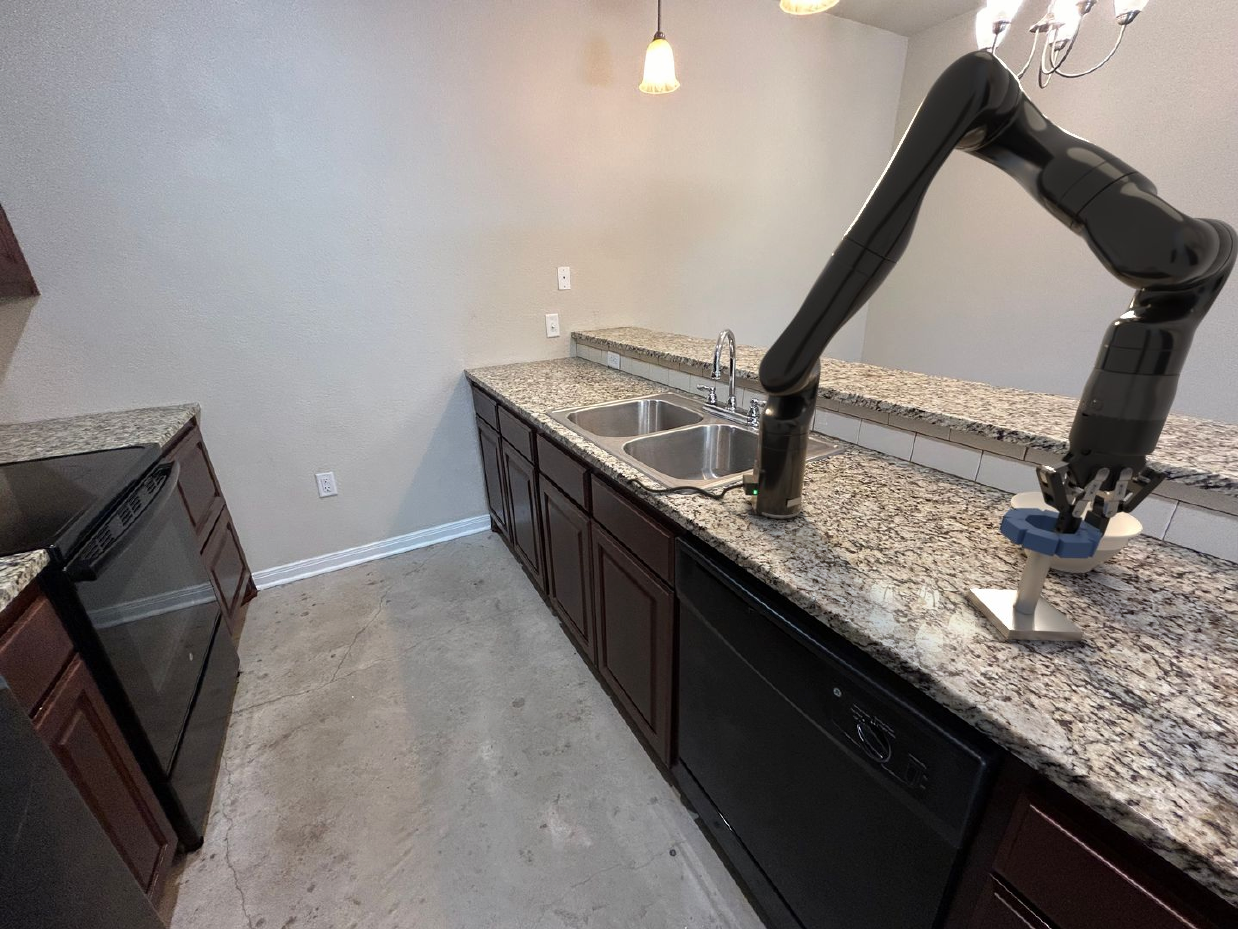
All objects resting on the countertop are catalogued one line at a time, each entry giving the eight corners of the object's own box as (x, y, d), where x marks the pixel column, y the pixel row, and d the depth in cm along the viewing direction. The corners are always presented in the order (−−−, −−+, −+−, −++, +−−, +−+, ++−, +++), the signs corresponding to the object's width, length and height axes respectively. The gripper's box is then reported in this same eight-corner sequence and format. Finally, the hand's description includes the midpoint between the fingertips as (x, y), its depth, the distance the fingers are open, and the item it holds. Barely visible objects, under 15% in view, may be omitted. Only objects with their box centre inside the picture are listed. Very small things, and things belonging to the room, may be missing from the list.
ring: (1032, 557, 60) (1037, 541, 59) (985, 521, 69) (989, 507, 68) (1116, 559, 59) (1122, 543, 59) (1058, 522, 68) (1063, 508, 67)
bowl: (1008, 525, 93) (1020, 483, 90) (1126, 557, 82) (1145, 510, 79) (988, 559, 82) (1001, 513, 79) (1120, 600, 72) (1142, 548, 69)
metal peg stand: (1006, 639, 65) (1031, 563, 61) (967, 597, 73) (986, 528, 69) (1080, 641, 64) (1110, 565, 60) (1032, 598, 72) (1055, 529, 68)
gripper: (1156, 400, 61) (1109, 526, 67) (1035, 401, 62) (1000, 525, 68) (1221, 417, 54) (1161, 556, 60) (1083, 417, 55) (1039, 554, 61)
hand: (1075, 539), depth 64 cm, fingers closed on ring, 2 cm apart
